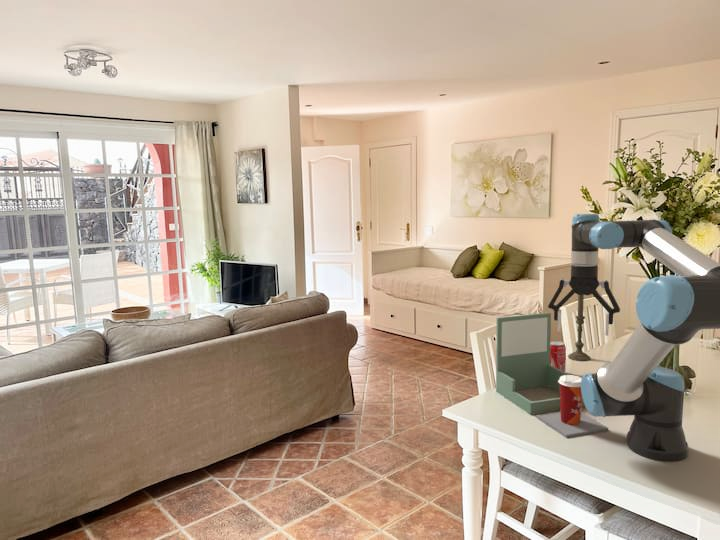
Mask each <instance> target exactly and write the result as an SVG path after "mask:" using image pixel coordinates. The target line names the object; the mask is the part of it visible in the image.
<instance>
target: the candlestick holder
mask: <svg viewBox="0 0 720 540" xmlns="http://www.w3.org/2000/svg"><path fill="white" fill-rule="evenodd" d="M584 297H585V295H578V294H577V315H576V316H575V319H576V320H575V321H576V322H575V323H576V324H577V329H576V330H577V341H576V342H575V347H576V351H574V352H572V353H570V354H568V355H567V357H568V359H570V360H572V361H576V362H577V361H579V362H588V361H590V360H591V356H590V355H588V354H587V353H585V352H584V351H583V350H582V349H583V348H584V346H585V343H583V341H582V335H583V334H582V333H583V325H584V324H585V321H584V320H585V319H586V316H584V301H585V300H584Z"/></svg>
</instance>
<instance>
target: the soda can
mask: <svg viewBox="0 0 720 540" xmlns="http://www.w3.org/2000/svg"><path fill="white" fill-rule="evenodd" d="M566 348H567V347H566V344H565V342H564V341H561V340H550V365H551V366H553V367H555V368H557V369H559V370H561V371H563V372H565V373H566V363H567V362H566V361H567V359H566V356H567V355H566V354H567V349H566Z"/></svg>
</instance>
